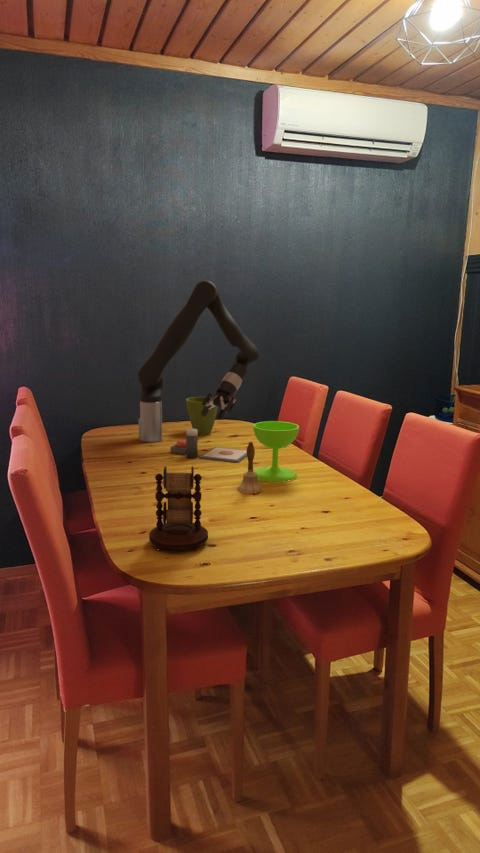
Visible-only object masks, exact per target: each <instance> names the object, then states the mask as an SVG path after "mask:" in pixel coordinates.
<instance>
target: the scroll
mask: <svg viewBox="0 0 480 853" xmlns="http://www.w3.org/2000/svg"><path fill="white" fill-rule="evenodd" d="M194 471H195V470H194V466H193V465H192V466H191V472H168V471H167V466H166V465H164V466H163V474H162V473H157V474H156V475H155V477H154V480H155V483H156V484H157V485H156V488H155V490H156V492H155V495H154V496H155V500H156V506H155V507H156V511H155V515H156V519H157V521H156V526H155V527H153V528H152V529H151V530H150V531H149V532H148V533H149V536H148V539H149V542H150V543H151V544H153V545H154V546H155V549H156V550H157V549H161V548H162V549H166V550H188V549H193V548H194V550H195V549H196V550H197V549H198V550H199V548H200V546H201V545H203V544H205V542H207V541H208V538H209V531H208V529H206V528H205V527H204V526H202V523H201V521H200V520H201V519H202V518H201V516H202V510H201V505H202V504H201V503H200V502H201V501H202V492H201V484H202V482H201V480H202V479H203V478H202V475H201V474H199V473H196V474H195V473H194ZM194 474H195V475H194ZM162 484H163V485H162ZM194 484H195V485H194ZM194 486H195V487H194ZM163 489H164V490H165V492H166V493H164V492H163ZM193 489H194V493H192V490H193ZM164 498H165V499H166V500H167V501H164V502H163V499H164ZM192 499H194V502H195V504H194V503H193V501H192ZM162 502H163V503H162ZM194 520H195V522H194ZM196 550H195V551H196ZM198 550H197V551H198Z"/></svg>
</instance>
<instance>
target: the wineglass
mask: <svg viewBox="0 0 480 853" xmlns="http://www.w3.org/2000/svg"><path fill="white" fill-rule="evenodd" d="M252 427H253V432H254V436H255V438H256V440H258V442H259V443H260V444H261V445H263V446H264V447H265V448H269V449H272V459H271V462H272V463H271V466H268V467H266V466H265V467H260V468H258V469H256V470H253V472H255V473H256V474H257V477H258V479H259V480H258V481H260V480H262V481H261V482H264V481H271V482H270V483H272V482H282V483H284V482H283V481H288V480H292V479H295V478H296V477H297V478H298V475H297V472H295V471H294V470H291V469H289V468H285V467H279V464H278V463H279V461H278V460H279V450H280V449H284V448H286V447H289V446H290V445H291V444H293V442H294V441H295V440H296V438H298V434H299V430H300V426H299V424H296V423H295V422H294V423H293V422H289V421H278V420H269V421H268V420H267V421H260V422H256V423H253V425H252ZM295 480H296V479H295Z"/></svg>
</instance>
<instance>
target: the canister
mask: <svg viewBox="0 0 480 853" xmlns="http://www.w3.org/2000/svg"><path fill="white" fill-rule="evenodd" d="M185 431H186V432H185V434H186V435H185V437H186V438H185V441H186V455H185V456H186V459H191V460H194V459H197V458H198V452H199V451H198V447H199V446H198V436H199V435H198V430H197V429H193V428H186V430H185Z"/></svg>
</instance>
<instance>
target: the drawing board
mask: <svg viewBox="0 0 480 853" xmlns="http://www.w3.org/2000/svg"><path fill="white" fill-rule="evenodd" d="M246 458H247V449H246V450H245V449H235V448H227V447H226V448H225V447H218V446H217V447H216V446H215V447H213V448H212V449H210V450H208V451H207V452H205V453H203V454H201V455H199V459H201V460H202V459H203V460H211V461H217V462H219V461H220V462H228V463H234V464H235V463H236V464H237V463H238V464H239V463H240V462H242V461H243V460H244V459H246Z"/></svg>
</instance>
